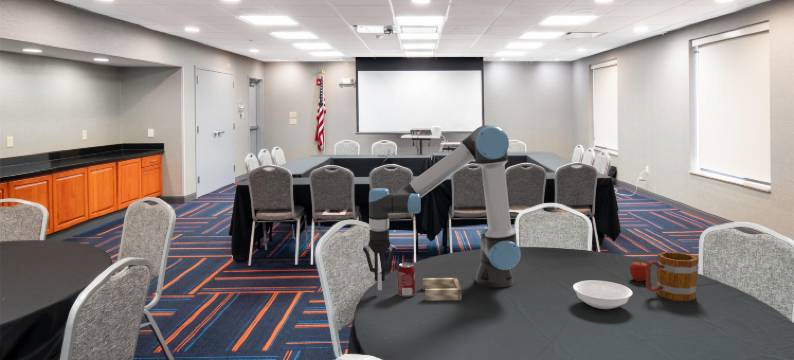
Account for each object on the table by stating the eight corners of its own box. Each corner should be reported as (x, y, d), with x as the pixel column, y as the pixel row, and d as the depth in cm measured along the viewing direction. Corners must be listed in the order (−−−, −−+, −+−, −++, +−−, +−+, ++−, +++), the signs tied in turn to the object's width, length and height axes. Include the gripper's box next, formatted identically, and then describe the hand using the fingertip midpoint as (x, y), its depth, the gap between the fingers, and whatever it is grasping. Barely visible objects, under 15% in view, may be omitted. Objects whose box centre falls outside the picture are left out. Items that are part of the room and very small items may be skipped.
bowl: (634, 320, 170) (635, 301, 169) (571, 312, 177) (572, 295, 176) (629, 299, 189) (630, 283, 188) (572, 293, 196) (573, 277, 195)
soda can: (413, 298, 193) (413, 267, 191) (396, 297, 194) (395, 266, 192) (416, 292, 199) (416, 262, 198) (399, 291, 201) (399, 261, 199)
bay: (456, 287, 204) (456, 277, 204) (461, 299, 190) (461, 289, 190) (423, 288, 204) (422, 278, 204) (425, 300, 190) (425, 290, 190)
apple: (651, 284, 206) (652, 265, 205) (630, 282, 208) (631, 263, 207) (648, 278, 213) (649, 260, 212) (628, 276, 215) (629, 258, 214)
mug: (678, 287, 201) (680, 250, 199) (704, 299, 188) (707, 260, 186) (633, 291, 197) (635, 253, 196) (657, 304, 184) (659, 263, 182)
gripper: (396, 226, 197) (396, 285, 200) (362, 227, 197) (363, 285, 200) (396, 231, 190) (396, 292, 193) (361, 231, 190) (362, 292, 193)
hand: (379, 288), depth 197 cm, fingers closed
